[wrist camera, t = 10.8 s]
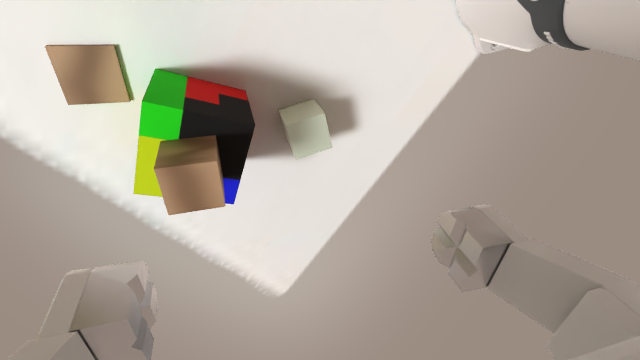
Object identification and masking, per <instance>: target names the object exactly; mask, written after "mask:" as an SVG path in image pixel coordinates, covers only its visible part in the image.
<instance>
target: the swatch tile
mask: <svg viewBox="0 0 640 360" xmlns="http://www.w3.org/2000/svg"><path fill="white" fill-rule="evenodd" d="M45 48H46V50H47V53H48V55H49V58H50V60H51V63H52V66H53V68H54V71H55V73H56V76H57V78H58V81H59V83H60V86H61V88H62V91H63V93H64V96H65V98H66V101H67V103H68V105H75V104H96V103H116V102H130V98H129V94H128V91H127V87H126V84H125V80H124V77H123V73H122V70H121V66H120V63H119V59H118V56H117V52H116V49H115V45H46V46H45Z"/></svg>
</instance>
